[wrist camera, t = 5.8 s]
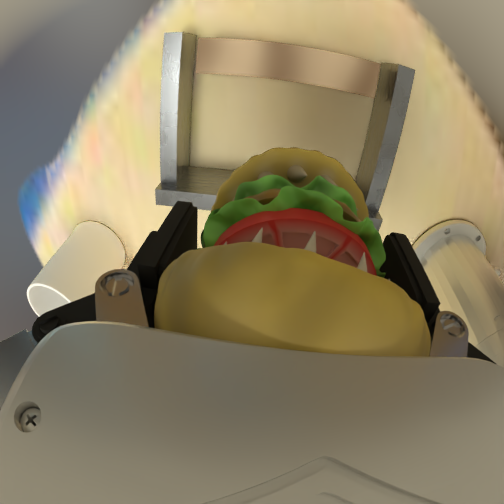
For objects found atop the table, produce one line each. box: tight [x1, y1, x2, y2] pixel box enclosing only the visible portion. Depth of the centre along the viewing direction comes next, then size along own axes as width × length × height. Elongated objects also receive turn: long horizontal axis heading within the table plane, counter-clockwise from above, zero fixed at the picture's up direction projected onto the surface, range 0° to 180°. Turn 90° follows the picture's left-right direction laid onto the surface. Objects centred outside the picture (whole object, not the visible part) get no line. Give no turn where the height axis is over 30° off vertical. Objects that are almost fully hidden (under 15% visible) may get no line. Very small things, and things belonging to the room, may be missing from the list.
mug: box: [27, 221, 125, 316], centre depth 33 cm, size 12×8×12 cm
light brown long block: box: [196, 38, 381, 98], centre depth 22 cm, size 14×3×5 cm, turn 84°
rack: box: [155, 32, 415, 232], centre depth 24 cm, size 20×15×6 cm
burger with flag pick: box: [154, 147, 431, 357], centre depth 10 cm, size 8×7×12 cm
